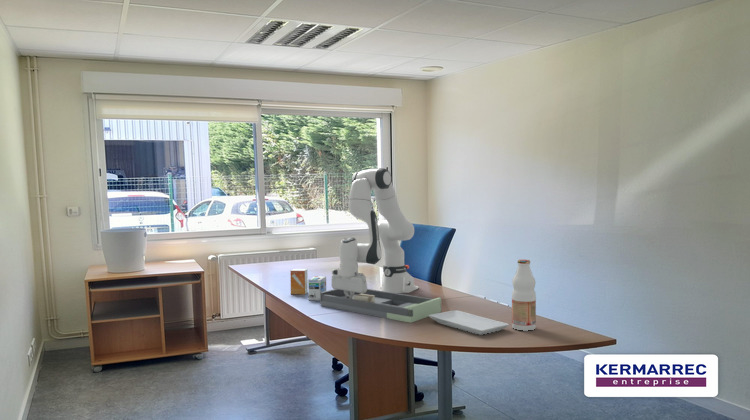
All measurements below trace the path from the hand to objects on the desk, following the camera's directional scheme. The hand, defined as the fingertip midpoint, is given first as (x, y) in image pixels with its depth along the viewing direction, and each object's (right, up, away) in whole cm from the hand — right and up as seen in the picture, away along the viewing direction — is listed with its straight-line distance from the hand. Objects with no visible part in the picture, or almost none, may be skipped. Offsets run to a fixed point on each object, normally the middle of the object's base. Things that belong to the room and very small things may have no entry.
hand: (349, 300), depth 270 cm
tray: (+51, -5, -38) cm, 64 cm away
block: (+7, -1, -6) cm, 9 cm away
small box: (-29, -2, +33) cm, 43 cm away
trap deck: (+14, -3, -5) cm, 16 cm away
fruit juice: (+73, -5, -42) cm, 84 cm away
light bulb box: (-17, -3, +19) cm, 26 cm away
